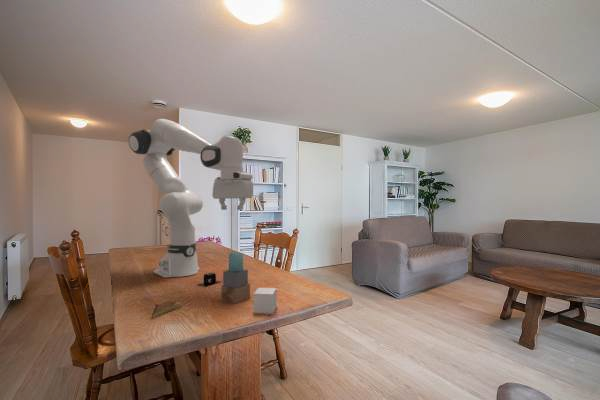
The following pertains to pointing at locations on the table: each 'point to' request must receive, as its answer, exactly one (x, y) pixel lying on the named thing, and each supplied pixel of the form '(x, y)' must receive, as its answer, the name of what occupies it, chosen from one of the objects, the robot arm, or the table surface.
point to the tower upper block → (235, 278)
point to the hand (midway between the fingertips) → (231, 209)
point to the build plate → (208, 277)
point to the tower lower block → (235, 293)
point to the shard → (165, 307)
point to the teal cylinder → (235, 262)
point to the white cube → (265, 300)
